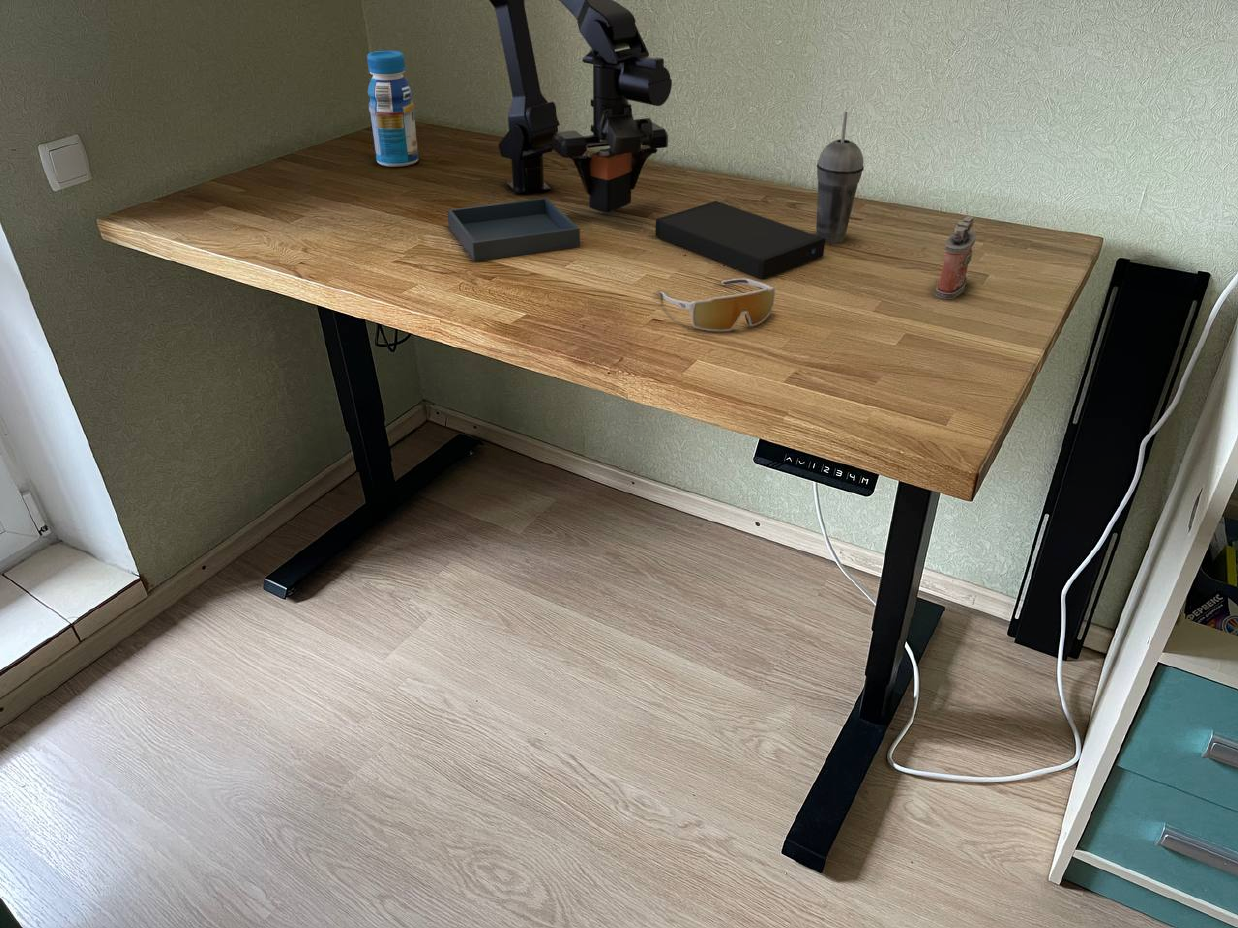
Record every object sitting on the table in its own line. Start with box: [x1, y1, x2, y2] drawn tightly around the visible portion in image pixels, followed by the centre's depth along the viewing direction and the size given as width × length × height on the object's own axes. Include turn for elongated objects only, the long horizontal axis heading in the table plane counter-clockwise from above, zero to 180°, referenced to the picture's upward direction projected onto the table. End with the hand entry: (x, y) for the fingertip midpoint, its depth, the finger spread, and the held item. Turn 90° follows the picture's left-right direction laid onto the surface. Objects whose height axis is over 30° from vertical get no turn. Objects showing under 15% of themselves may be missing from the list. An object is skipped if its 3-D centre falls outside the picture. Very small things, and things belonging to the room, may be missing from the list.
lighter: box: [935, 215, 977, 300], centre depth 136 cm, size 8×3×10 cm, turn 148°
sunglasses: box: [659, 278, 776, 332], centre depth 131 cm, size 14×15×5 cm
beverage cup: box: [815, 111, 865, 244], centre depth 150 cm, size 7×7×20 cm
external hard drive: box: [654, 200, 826, 280], centre depth 151 cm, size 14×23×3 cm, turn 41°
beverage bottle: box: [366, 50, 419, 168], centre depth 183 cm, size 8×8×20 cm
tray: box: [446, 197, 581, 262], centre depth 154 cm, size 16×17×3 cm
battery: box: [588, 147, 632, 214], centre depth 161 cm, size 4×7×10 cm, turn 143°
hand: (610, 191), depth 162 cm, fingers closed on battery, 7 cm apart
